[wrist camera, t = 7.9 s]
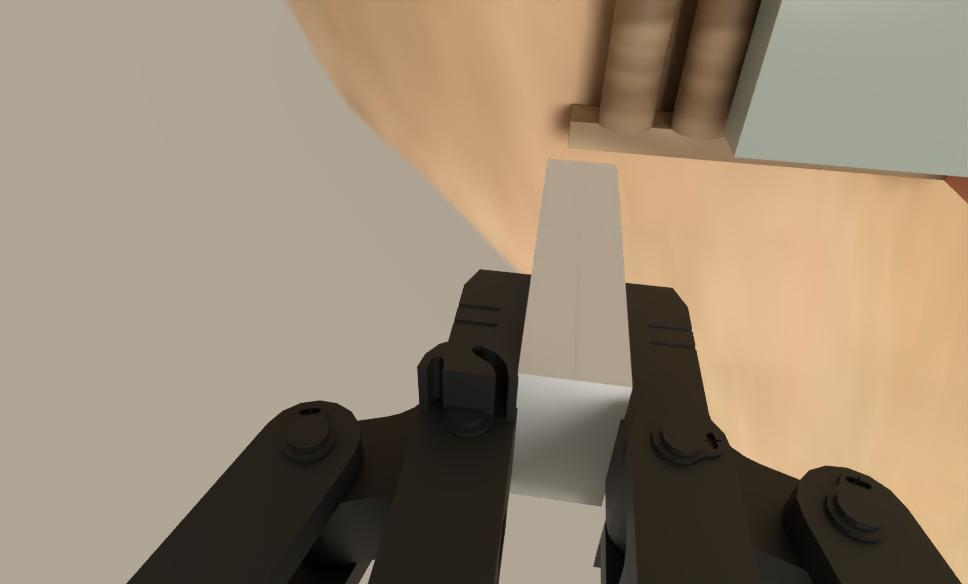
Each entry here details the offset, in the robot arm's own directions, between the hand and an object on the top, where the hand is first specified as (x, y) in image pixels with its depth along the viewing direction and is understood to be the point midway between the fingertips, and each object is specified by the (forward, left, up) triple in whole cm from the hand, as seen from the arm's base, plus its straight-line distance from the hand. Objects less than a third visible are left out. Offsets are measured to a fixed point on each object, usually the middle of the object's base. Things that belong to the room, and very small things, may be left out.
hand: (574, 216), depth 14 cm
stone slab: (0, +14, -20) cm, 24 cm away
